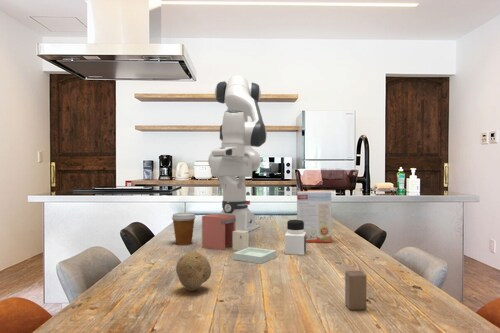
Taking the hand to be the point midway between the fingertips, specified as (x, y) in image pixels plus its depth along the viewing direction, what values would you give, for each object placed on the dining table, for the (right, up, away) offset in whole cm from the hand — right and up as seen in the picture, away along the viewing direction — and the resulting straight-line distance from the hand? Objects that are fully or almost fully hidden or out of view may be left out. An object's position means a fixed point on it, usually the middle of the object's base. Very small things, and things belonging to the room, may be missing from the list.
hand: (231, 188), depth 155 cm
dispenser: (-5, -23, +5) cm, 24 cm away
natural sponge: (-8, -24, -48) cm, 55 cm away
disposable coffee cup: (-20, -23, +11) cm, 33 cm away
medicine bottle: (+24, -23, -5) cm, 34 cm away
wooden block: (+31, -24, -61) cm, 73 cm away
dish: (+9, -23, -14) cm, 28 cm away
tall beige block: (+3, -23, 0) cm, 23 cm away
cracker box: (+34, -23, +16) cm, 44 cm away
